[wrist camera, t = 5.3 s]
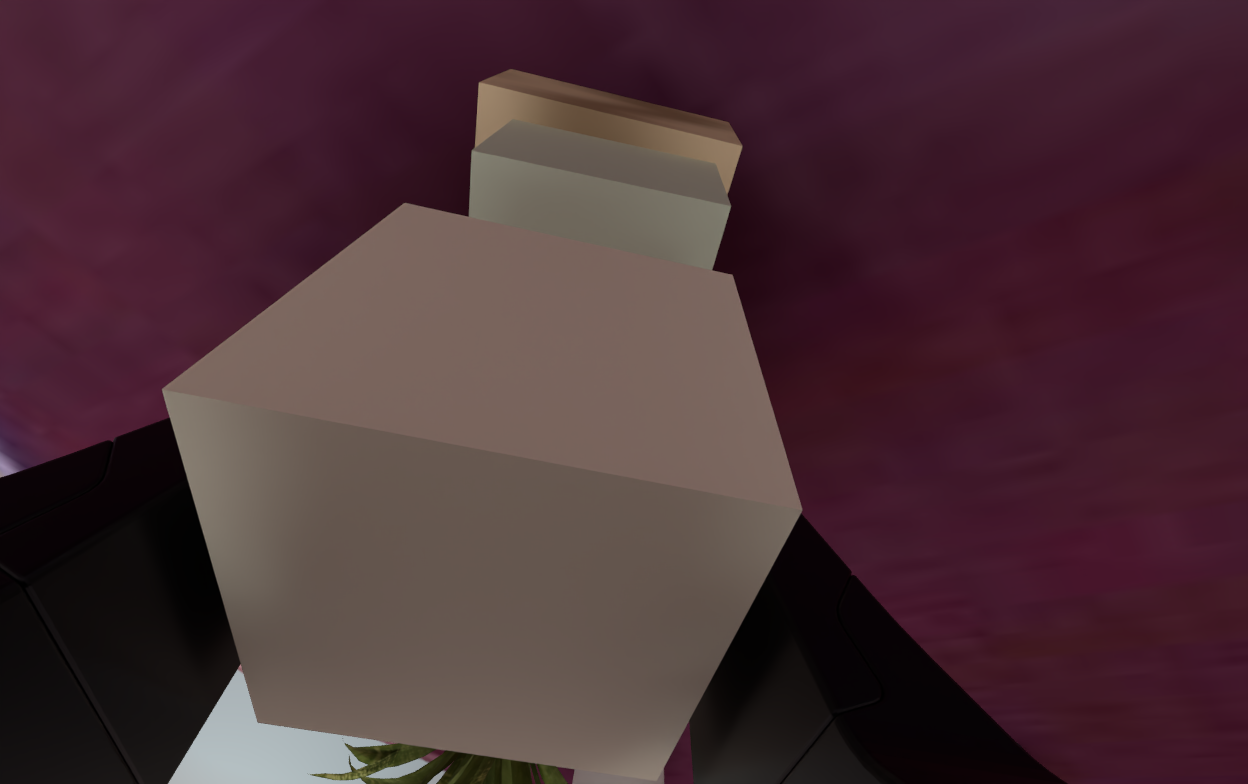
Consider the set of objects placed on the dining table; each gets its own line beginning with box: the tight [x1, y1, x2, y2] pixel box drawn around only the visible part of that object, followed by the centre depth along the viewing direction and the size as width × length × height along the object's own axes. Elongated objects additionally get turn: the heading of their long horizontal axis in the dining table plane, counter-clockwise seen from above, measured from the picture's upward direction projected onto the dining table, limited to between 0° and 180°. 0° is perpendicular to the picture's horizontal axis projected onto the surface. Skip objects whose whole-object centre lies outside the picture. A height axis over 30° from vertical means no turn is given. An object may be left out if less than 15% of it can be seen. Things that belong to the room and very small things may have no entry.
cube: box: [162, 203, 802, 781], centre depth 8 cm, size 5×5×5 cm
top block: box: [469, 119, 731, 270], centre depth 15 cm, size 6×6×4 cm
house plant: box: [312, 743, 568, 784], centre depth 24 cm, size 14×14×16 cm
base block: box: [475, 69, 742, 195], centre depth 19 cm, size 7×7×4 cm
